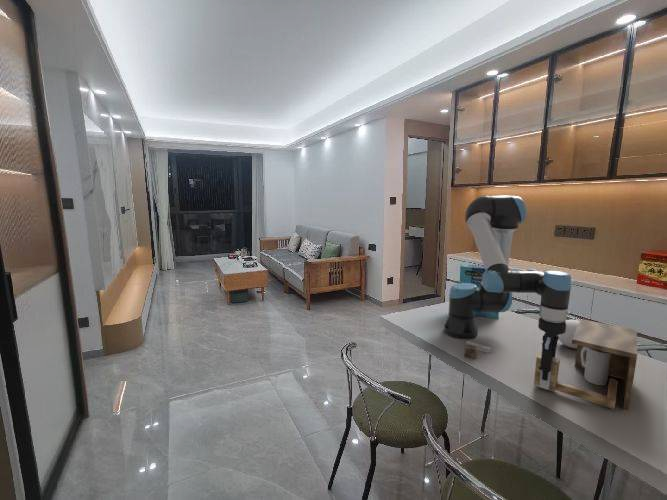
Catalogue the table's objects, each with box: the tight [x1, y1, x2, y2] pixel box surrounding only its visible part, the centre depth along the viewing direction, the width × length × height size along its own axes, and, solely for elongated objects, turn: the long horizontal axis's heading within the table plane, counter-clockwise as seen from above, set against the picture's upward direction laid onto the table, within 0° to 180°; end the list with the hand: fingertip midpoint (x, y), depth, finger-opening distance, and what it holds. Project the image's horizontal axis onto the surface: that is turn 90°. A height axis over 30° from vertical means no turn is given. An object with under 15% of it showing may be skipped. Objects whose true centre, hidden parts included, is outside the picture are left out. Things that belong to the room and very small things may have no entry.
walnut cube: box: [464, 344, 477, 360], centre depth 136 cm, size 4×4×4 cm
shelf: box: [572, 318, 638, 412], centre depth 114 cm, size 16×24×18 cm, turn 139°
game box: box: [459, 263, 500, 320], centre depth 181 cm, size 20×6×27 cm, turn 66°
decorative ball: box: [558, 319, 580, 349], centre depth 143 cm, size 12×12×12 cm
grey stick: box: [465, 340, 492, 354], centre depth 143 cm, size 10×2×2 cm, turn 46°
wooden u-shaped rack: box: [533, 352, 618, 410], centre depth 111 cm, size 21×14×10 cm, turn 48°
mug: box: [581, 347, 612, 386], centre depth 119 cm, size 10×7×12 cm, turn 7°
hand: (545, 384), depth 113 cm, fingers closed on wooden u-shaped rack, 4 cm apart
